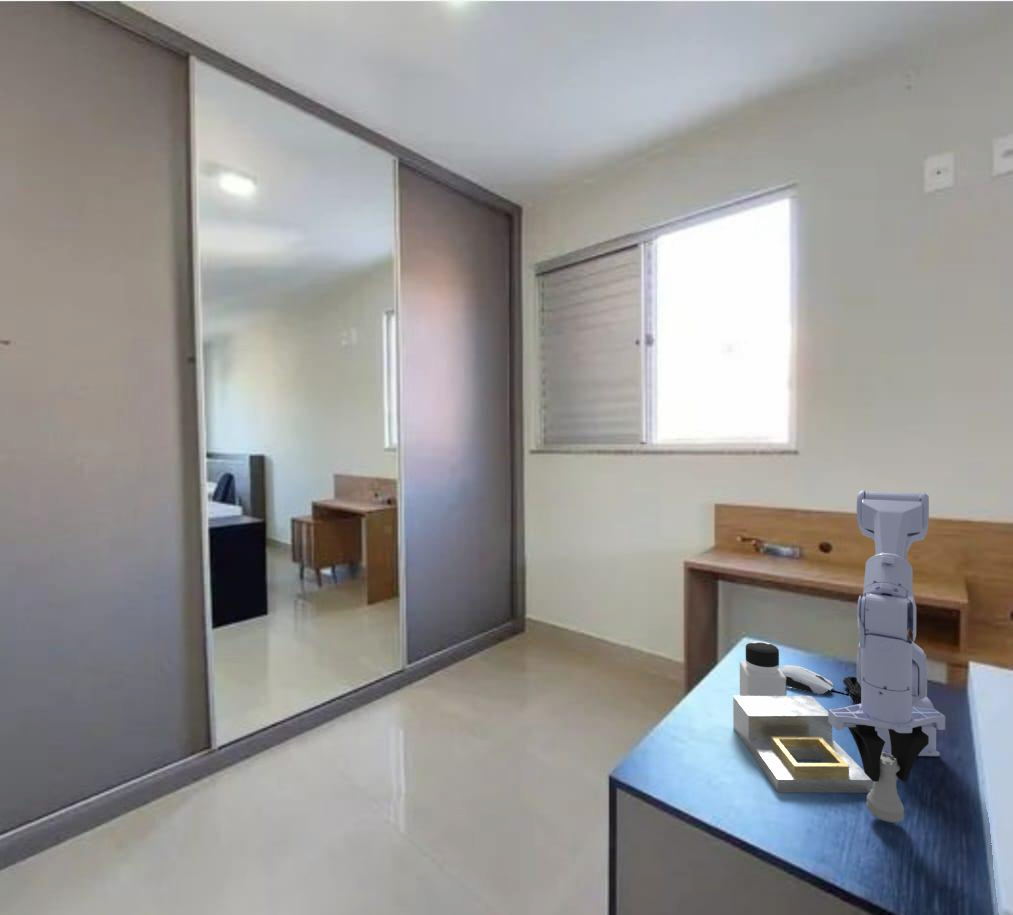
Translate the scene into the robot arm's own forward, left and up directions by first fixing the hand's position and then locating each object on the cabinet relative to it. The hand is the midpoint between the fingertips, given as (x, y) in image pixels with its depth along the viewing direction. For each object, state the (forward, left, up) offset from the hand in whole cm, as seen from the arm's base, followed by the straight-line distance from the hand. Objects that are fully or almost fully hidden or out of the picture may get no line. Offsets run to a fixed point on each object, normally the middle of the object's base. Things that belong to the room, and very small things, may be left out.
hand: (885, 777), depth 75 cm
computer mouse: (-10, -40, -7) cm, 42 cm away
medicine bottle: (+3, -33, -7) cm, 34 cm away
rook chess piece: (0, 0, -5) cm, 5 cm away
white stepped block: (+5, -16, -6) cm, 18 cm away
